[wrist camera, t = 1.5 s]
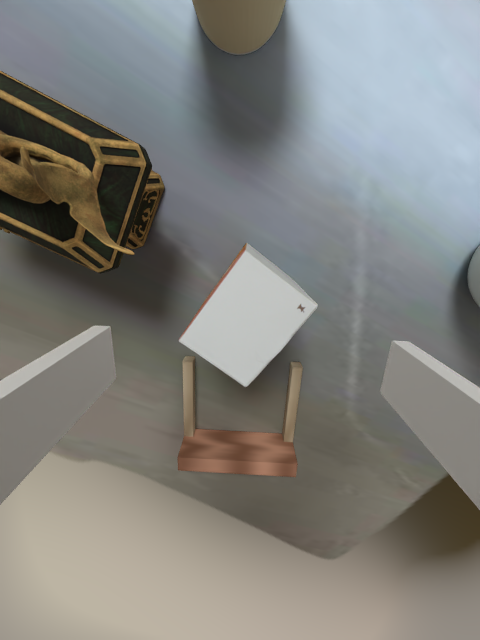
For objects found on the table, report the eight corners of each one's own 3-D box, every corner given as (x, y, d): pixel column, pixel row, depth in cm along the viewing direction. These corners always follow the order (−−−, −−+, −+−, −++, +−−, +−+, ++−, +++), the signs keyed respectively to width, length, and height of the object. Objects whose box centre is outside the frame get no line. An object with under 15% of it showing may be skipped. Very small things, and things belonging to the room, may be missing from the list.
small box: (246, 241, 29) (245, 246, 16) (290, 276, 30) (322, 306, 17) (204, 299, 31) (175, 342, 18) (247, 330, 32) (247, 390, 20)
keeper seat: (186, 440, 37) (178, 470, 32) (185, 356, 33) (175, 376, 28) (289, 445, 37) (295, 476, 32) (300, 362, 33) (309, 383, 28)
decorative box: (5, 195, 28) (-490, 114, 9) (23, 96, 25) (-626, -311, 6) (179, 279, 30) (70, 350, 11) (214, 196, 27) (145, 111, 9)
